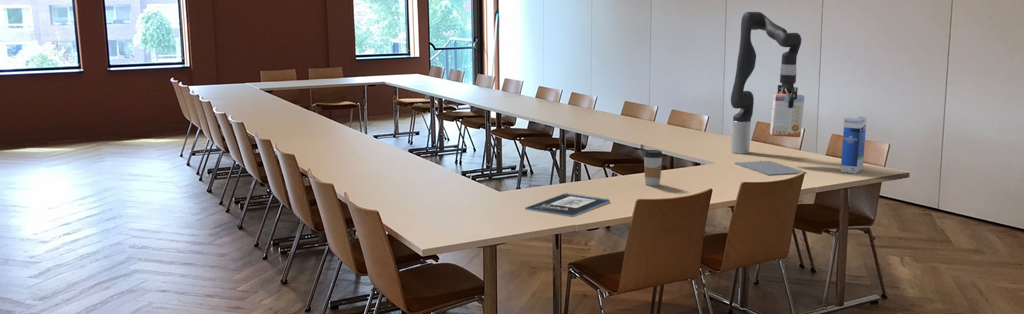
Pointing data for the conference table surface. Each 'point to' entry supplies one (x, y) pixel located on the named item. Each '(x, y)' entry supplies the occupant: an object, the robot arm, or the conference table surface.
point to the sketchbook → (568, 204)
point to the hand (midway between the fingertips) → (786, 106)
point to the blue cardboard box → (853, 144)
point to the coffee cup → (652, 167)
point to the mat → (769, 168)
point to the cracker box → (786, 116)
